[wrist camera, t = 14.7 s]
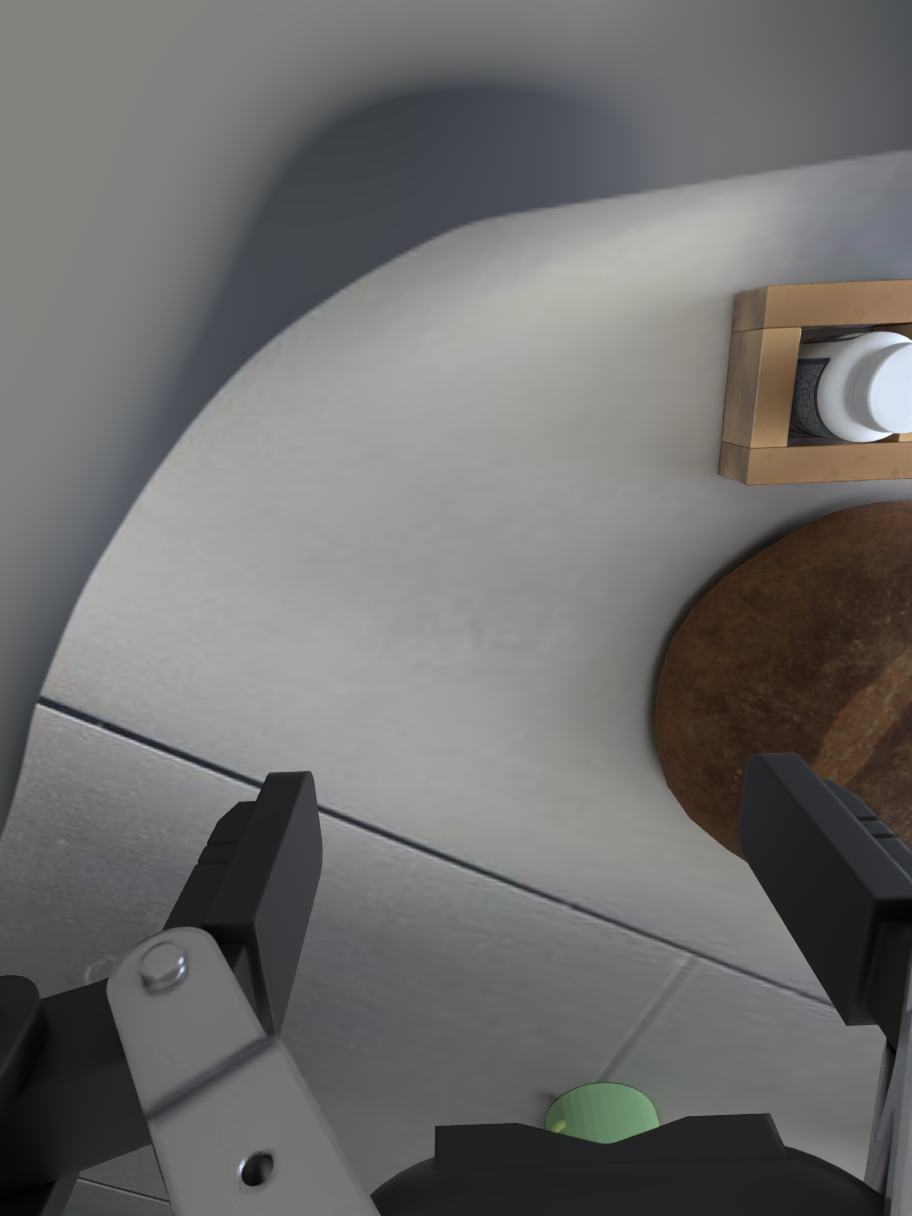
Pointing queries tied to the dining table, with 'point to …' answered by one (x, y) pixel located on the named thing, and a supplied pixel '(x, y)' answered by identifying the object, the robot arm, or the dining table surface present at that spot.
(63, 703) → the dining table surface
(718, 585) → the bread
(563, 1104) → the mug
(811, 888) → the robot arm
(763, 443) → the holder
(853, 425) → the pill bottle
